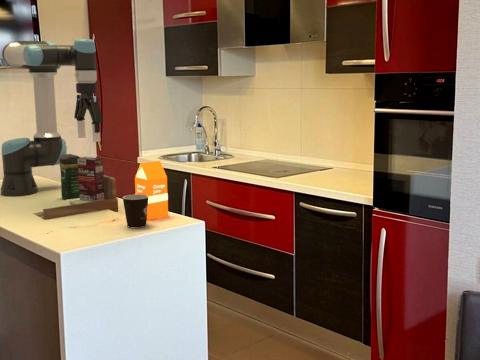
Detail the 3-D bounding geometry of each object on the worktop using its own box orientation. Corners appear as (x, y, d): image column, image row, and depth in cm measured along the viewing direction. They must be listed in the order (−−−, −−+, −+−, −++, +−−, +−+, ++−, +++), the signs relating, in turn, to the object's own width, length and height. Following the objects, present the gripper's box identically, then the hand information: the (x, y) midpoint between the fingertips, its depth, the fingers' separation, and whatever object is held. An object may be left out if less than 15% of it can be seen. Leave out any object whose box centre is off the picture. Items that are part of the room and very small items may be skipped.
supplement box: (78, 200, 223) (76, 158, 220) (87, 197, 227) (85, 156, 224) (96, 202, 219) (94, 159, 216) (105, 199, 223) (103, 157, 220)
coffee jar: (86, 199, 246) (84, 154, 242) (67, 202, 241) (65, 156, 238) (77, 195, 253) (74, 152, 250) (59, 198, 249) (56, 154, 245)
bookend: (69, 200, 222) (92, 197, 227) (70, 208, 223) (92, 205, 228) (78, 204, 216) (101, 201, 221) (78, 212, 216) (101, 209, 222)
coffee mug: (138, 221, 210) (136, 193, 208) (154, 224, 204) (153, 196, 203) (111, 227, 201) (110, 198, 199) (128, 232, 196) (127, 202, 194)
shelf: (32, 217, 216) (30, 183, 214) (104, 205, 233) (102, 174, 231) (45, 223, 207) (42, 188, 205) (118, 211, 224) (116, 178, 222)
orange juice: (136, 216, 216) (133, 162, 212) (155, 212, 222) (153, 159, 218) (148, 220, 210) (146, 164, 207) (168, 216, 216) (167, 161, 213)
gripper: (63, 81, 227) (66, 136, 231) (90, 83, 208) (93, 144, 212) (82, 81, 231) (85, 135, 236) (110, 83, 212) (113, 142, 216)
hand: (89, 139), depth 224 cm, fingers open, 13 cm apart
